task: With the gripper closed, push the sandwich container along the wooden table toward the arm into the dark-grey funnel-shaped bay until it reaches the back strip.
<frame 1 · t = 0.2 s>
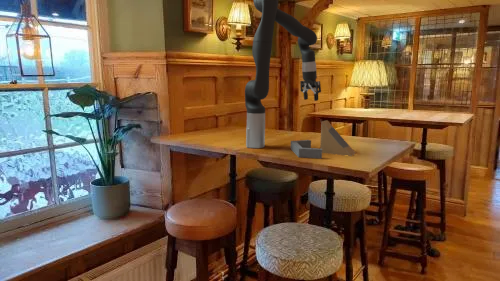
hand: (311, 100, 198), 23 cm above the table, tool pointing down, fingers open, 8 cm apart
sandwich container: (338, 153, 171), on the table
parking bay: (309, 152, 170), on the table
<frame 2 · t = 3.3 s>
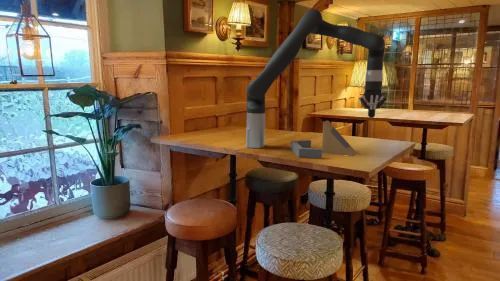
hand: (371, 117, 169), 17 cm above the table, tool pointing down, fingers closed
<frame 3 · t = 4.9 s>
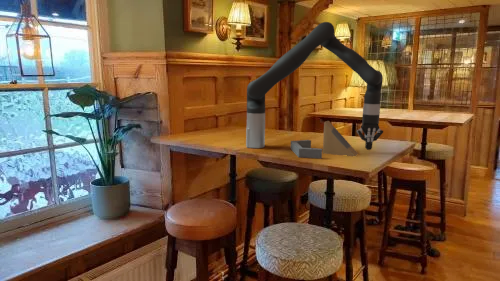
hand: (368, 149, 172), 1 cm above the table, tool pointing down, fingers closed
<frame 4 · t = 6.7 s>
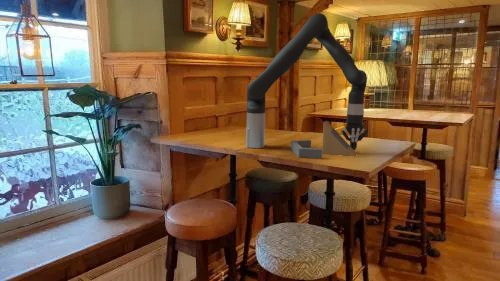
hand: (353, 149, 171), 1 cm above the table, tool pointing down, fingers closed
sandwich container: (339, 154, 169), on the table, touching gripper
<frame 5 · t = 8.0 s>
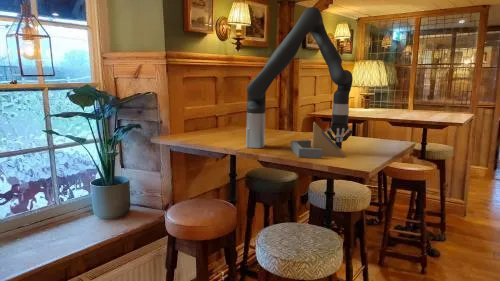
hand: (338, 149, 171), 1 cm above the table, tool pointing down, fingers closed
sandwich container: (329, 155, 167), on the table
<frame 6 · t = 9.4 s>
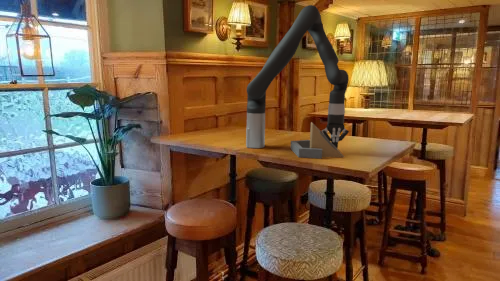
hand: (334, 149, 170), 2 cm above the table, tool pointing down, fingers closed
sandwich container: (326, 155, 166), on the table
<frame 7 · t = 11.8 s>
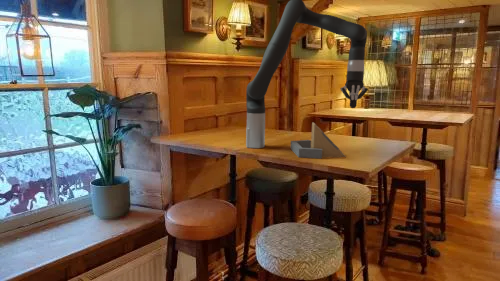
hand: (352, 107, 169), 21 cm above the table, tool pointing down, fingers closed
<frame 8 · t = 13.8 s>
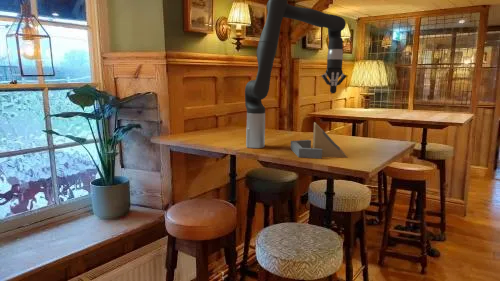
hand: (332, 93, 185), 27 cm above the table, tool pointing down, fingers closed
at the end: sandwich container inside the target area (6.5 cm from its centre), on the table; sandwich container tilted 0° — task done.
